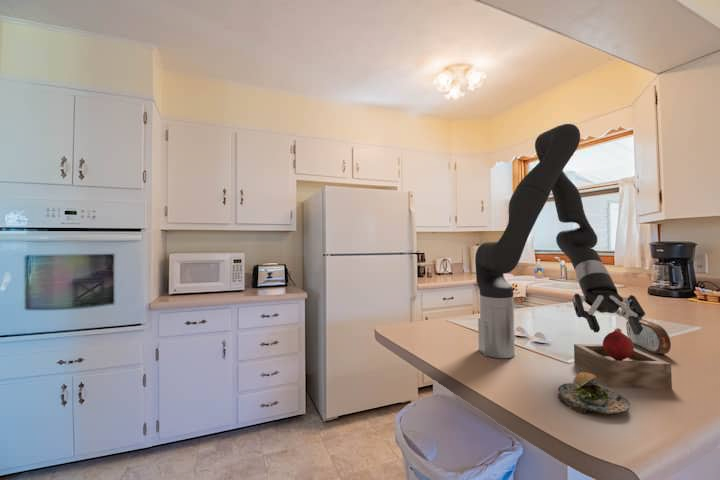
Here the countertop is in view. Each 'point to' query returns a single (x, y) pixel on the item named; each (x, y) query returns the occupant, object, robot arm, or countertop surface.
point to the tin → (650, 337)
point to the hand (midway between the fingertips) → (617, 332)
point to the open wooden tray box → (623, 368)
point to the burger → (590, 396)
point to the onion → (618, 345)
